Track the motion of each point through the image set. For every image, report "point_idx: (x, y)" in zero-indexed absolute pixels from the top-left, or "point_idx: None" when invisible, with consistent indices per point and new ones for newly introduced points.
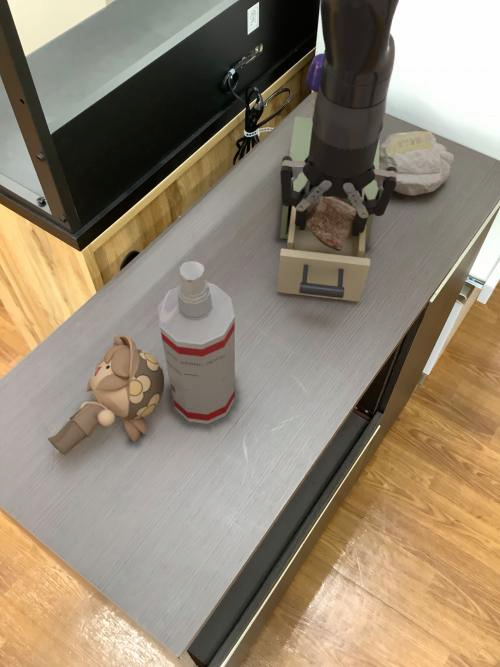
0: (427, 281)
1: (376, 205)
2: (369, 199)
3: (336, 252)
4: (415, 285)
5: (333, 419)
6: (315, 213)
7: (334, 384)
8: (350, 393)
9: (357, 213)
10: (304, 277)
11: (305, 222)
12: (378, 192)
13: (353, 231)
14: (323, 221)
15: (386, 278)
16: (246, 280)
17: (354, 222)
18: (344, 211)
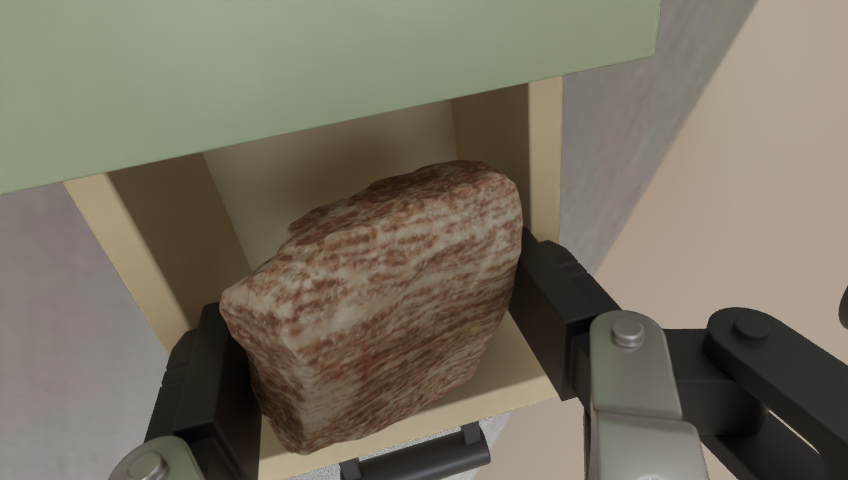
0: (685, 90)
1: (737, 468)
2: (601, 65)
3: (392, 134)
4: (647, 120)
5: (469, 471)
6: (307, 440)
7: (460, 428)
8: (492, 428)
9: (567, 379)
10: (348, 468)
11: (261, 413)
12: (799, 430)
13: (514, 321)
14: (367, 424)
15: (562, 125)
16: (119, 301)
17: (522, 303)
18: (464, 286)
